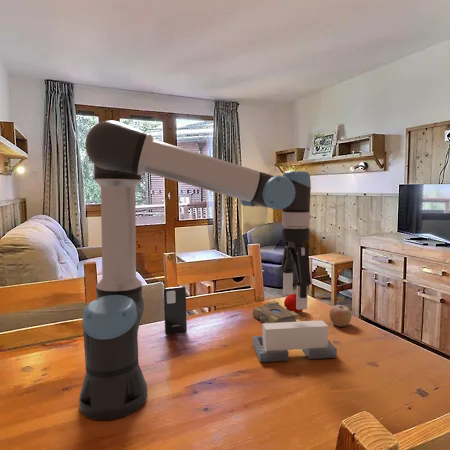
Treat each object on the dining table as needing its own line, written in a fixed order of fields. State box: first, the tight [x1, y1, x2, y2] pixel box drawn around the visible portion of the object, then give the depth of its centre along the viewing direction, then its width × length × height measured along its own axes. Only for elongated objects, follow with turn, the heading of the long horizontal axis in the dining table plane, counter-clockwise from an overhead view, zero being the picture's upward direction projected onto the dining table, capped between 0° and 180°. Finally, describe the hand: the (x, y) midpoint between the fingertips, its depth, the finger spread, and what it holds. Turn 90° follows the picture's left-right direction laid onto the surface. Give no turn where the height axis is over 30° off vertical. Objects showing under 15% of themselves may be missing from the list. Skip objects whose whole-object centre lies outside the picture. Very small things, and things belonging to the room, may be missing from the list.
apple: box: [283, 293, 304, 314], centre depth 137 cm, size 8×8×7 cm
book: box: [252, 300, 300, 324], centre depth 129 cm, size 15×11×5 cm
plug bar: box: [261, 320, 329, 351], centre depth 103 cm, size 18×4×8 cm, turn 96°
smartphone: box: [163, 286, 188, 336], centre depth 118 cm, size 7×1×16 cm, turn 107°
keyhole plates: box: [252, 335, 338, 363], centre depth 106 cm, size 22×12×2 cm, turn 96°
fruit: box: [329, 302, 353, 328], centre depth 124 cm, size 8×7×8 cm
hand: (294, 301), depth 102 cm, fingers open, 13 cm apart
